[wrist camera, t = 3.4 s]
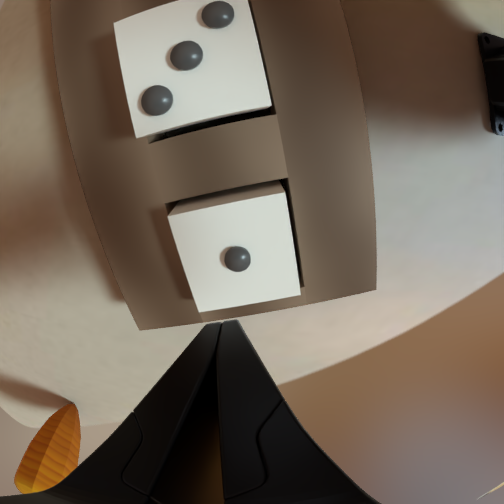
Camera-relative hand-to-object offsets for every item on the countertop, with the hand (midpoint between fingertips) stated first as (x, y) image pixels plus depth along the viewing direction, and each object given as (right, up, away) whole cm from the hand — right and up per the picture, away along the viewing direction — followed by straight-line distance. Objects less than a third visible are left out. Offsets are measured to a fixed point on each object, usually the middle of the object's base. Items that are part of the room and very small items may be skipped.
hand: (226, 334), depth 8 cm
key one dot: (0, +3, +7) cm, 8 cm away
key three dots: (-1, +10, +3) cm, 10 cm away
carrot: (-16, -12, +14) cm, 24 cm away
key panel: (-1, +10, +4) cm, 11 cm away
